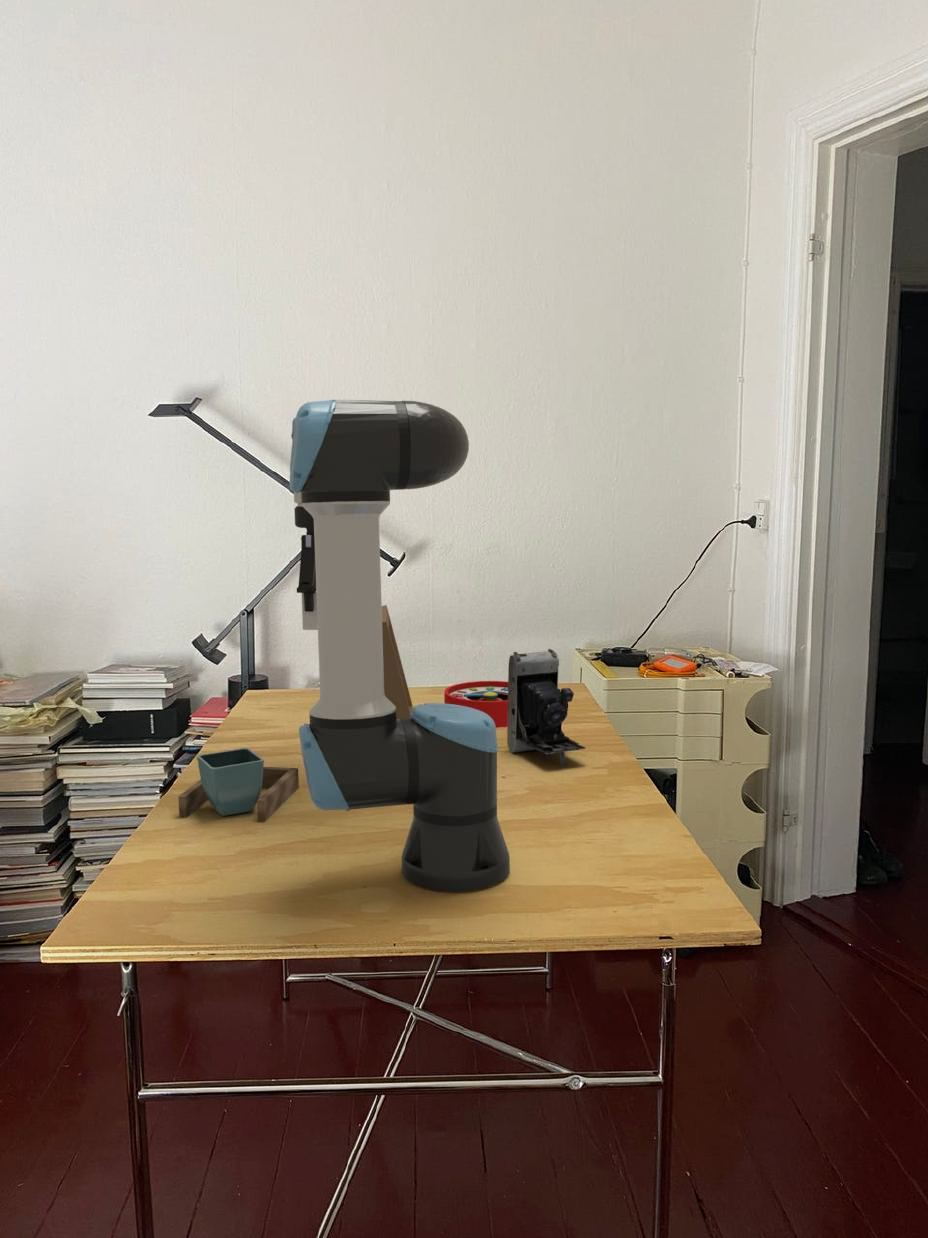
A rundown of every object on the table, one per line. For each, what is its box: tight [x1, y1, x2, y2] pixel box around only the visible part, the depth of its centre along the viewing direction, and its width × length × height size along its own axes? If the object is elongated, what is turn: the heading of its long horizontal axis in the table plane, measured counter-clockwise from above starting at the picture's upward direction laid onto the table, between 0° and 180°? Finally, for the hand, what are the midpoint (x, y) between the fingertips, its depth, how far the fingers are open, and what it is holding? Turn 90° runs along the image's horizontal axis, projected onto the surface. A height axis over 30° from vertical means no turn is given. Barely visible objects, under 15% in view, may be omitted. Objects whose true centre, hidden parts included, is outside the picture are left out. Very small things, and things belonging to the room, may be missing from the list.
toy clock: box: [443, 680, 508, 729], centre depth 233 cm, size 20×6×20 cm
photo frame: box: [382, 604, 414, 719], centre depth 220 cm, size 15×22×25 cm
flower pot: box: [196, 747, 265, 817], centre depth 174 cm, size 9×9×9 cm
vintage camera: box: [506, 648, 587, 768], centre depth 200 cm, size 10×16×20 cm, turn 24°
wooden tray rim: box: [177, 766, 300, 823], centre depth 178 cm, size 17×14×4 cm
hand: (319, 623), depth 192 cm, fingers open, 13 cm apart
